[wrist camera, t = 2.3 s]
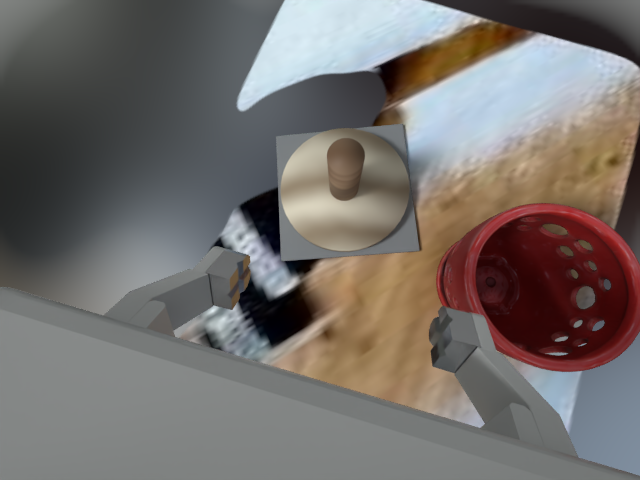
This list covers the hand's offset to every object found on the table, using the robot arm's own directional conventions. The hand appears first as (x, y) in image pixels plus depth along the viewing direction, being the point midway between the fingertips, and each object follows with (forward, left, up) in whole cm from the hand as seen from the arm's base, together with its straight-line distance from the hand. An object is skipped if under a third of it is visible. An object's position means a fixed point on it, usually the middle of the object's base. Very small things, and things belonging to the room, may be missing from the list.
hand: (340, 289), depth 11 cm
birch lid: (+12, -2, -22) cm, 25 cm away
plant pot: (-1, -17, -23) cm, 28 cm away
